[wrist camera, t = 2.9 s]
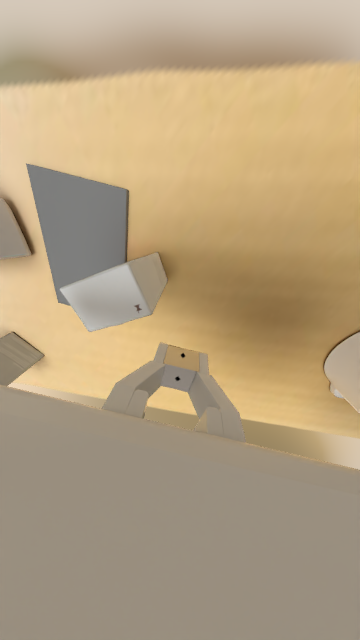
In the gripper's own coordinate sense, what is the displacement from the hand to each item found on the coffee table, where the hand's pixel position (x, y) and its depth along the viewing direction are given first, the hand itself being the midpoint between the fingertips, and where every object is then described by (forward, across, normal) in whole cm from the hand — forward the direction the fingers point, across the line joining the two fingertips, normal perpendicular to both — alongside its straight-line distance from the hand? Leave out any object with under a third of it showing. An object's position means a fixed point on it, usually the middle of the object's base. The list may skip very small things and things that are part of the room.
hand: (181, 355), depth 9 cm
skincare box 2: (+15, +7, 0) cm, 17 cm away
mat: (+15, +16, 0) cm, 22 cm away
